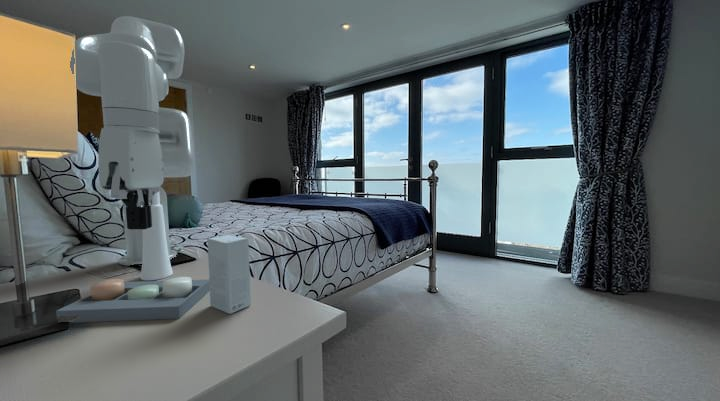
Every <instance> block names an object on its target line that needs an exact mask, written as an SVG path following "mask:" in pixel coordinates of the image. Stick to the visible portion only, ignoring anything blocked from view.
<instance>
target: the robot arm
mask: <svg viewBox="0 0 720 401" xmlns="http://www.w3.org/2000/svg"><path fill="white" fill-rule="evenodd" d="M75 41H76V83H77V88H76V90H78V91H79V92H81V93H83V94H86V95H89V96H95V97H101V98H100V99H101V108H102V119H103V120H102V122H103V127H101V130H100V134H99V140H98V154H97V155H98V158H97V159H98V161H97V162H98V163H97V164H98V165H97V166H98V181H99V186H100V187H101V188H102V189H103V190H107V191H110V197H111V198H112V199H117V200H121V203H122V208H123V209H122V211H123V223H124V234H125V239H124V240H125V249H126V255H123V256H121V257H120V258H119V259H118V260H119V265H122V266H128V267H129V266H130V265H134V264H142V257H143V229H147V228H151V227H152V216H151V206H149V205H152V203H153V195H154V194H156V193H158V192H159V196H160V205H162V207H163V214H164V222H165V231H166V240H167V247H168V254H169V259H170V260H172V258H173V259H174V257H175V258H176V257H177V256H178V254H177V253H178V251H176V250H175V249H171V246H172V245H175V244H176V242H177V240H176V239H175V238H174V237H171V238H170V228H169V211H168V210H169V209H168V197H167V193H166V191H165V189H164V188H163V187H162V185H163V183H164V179H165V178H186V177H190V176H191V175H193V173H194V171H195V168H196V167H195V166H196V159H195V151H194V149H195V148H194V141H193V140H194V139H193V131H192V125H191V120H190V118H189V116H188V114H187V113H186V112H185V111H183V110H180V109H176V108H168V107H161V106H160V104H159V102H162V101H163V100H165V98H166V96H168V94H169V91H170V90H169V80H168V79H170V80H175V79H179V78H180V77H181V76H182V74H183V70H184V69H183V68H184V62H185V45H184V40H183V37H182V35H181V33H180V32H179V31H178V29H176V28H175V27H174V26H172V25H169V24H165V23H162V22H157V21H154V20H153V21H152V20H149V19H148V20H147V19H145V18H140V17H136V16H130V15H122V16H119V17H116V19H115V20H113V22H112V24H111V27H110V32H106V33H99V34H89V35H84V36H81V37H79V38H77V39H76V40H75ZM74 64H75V58H74V49H73V51H72V57H71V61H70V68H71V71H72V74H74ZM176 255H177V256H176Z"/></svg>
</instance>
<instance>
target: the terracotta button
mask: <svg viewBox="0 0 720 401" xmlns="http://www.w3.org/2000/svg"><path fill="white" fill-rule="evenodd" d="M124 282H125V280H124V279H123V278H111V279H103V280H100V281H97V282H94V283H93V284H91V285H90V287H89V288H90V294H91V298H92V301H108V300H115V299H116V298H118V297H120V296H122V295H124V294H125V290H124Z"/></svg>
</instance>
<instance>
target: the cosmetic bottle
mask: <svg viewBox="0 0 720 401" xmlns="http://www.w3.org/2000/svg"><path fill="white" fill-rule="evenodd" d="M149 206H151V216H152V227H151V228H147V229H143V257H142V265H141V269H140V276H139V278H140V280H142V281H160V280H163V279H166V278H169V277H171V276H172V275H173V274H174V273H173V269H172V265H171V259H169V254H168V247H167V240H166V231H165V222H164V214H163V207H162V205H160V196H159V192H158V193H156V194H154V195H153V203H152V205H149Z"/></svg>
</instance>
